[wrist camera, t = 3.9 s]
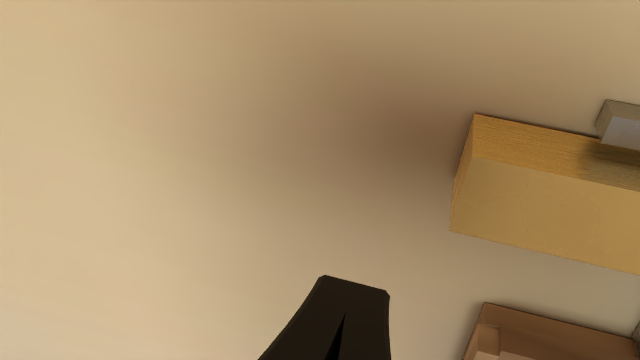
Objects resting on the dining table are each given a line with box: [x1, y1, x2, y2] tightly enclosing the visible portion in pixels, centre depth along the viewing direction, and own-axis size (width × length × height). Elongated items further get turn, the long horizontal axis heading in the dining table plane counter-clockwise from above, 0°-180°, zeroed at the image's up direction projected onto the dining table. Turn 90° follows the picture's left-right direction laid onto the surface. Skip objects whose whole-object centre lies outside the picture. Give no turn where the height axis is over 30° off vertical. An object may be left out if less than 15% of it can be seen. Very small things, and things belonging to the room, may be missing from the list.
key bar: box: [449, 114, 640, 275], centre depth 15 cm, size 2×7×2 cm, turn 84°
